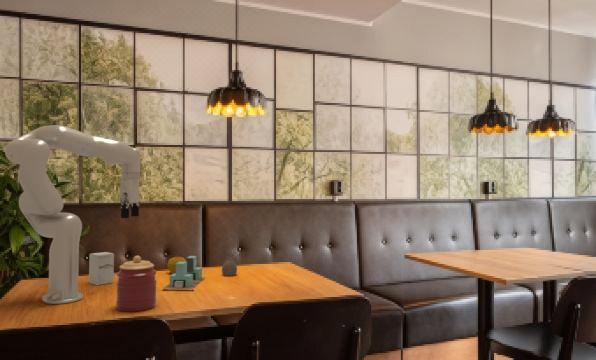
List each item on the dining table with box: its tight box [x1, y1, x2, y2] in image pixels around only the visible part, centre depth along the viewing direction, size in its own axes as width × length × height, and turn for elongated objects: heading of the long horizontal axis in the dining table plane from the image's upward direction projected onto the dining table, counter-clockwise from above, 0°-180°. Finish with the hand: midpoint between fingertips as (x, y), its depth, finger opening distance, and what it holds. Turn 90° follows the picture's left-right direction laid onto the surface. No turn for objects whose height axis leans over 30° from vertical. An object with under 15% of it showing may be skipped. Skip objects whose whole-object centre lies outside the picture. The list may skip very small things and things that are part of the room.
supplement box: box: [88, 251, 115, 286], centre depth 188 cm, size 7×7×13 cm
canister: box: [115, 255, 158, 313], centre depth 152 cm, size 13×13×18 cm
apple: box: [166, 256, 186, 275], centre depth 205 cm, size 9×9×9 cm
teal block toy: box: [168, 261, 193, 288], centre depth 179 cm, size 8×6×10 cm
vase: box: [221, 257, 238, 277], centre depth 202 cm, size 7×7×9 cm
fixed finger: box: [185, 255, 203, 280], centre depth 193 cm, size 8×6×10 cm
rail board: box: [162, 273, 207, 293], centre depth 185 cm, size 22×12×4 cm, turn 177°
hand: (130, 217), depth 188 cm, fingers open, 9 cm apart
